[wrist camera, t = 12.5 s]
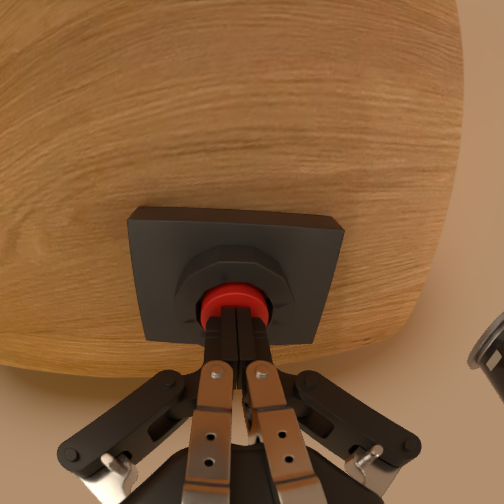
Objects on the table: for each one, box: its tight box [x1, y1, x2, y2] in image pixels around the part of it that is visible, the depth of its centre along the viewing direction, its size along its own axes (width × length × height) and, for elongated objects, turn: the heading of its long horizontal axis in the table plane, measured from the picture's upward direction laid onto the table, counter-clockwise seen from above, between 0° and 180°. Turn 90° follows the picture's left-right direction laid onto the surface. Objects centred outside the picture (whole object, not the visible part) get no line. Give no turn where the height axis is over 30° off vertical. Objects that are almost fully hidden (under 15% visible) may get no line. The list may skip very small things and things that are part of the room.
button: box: [201, 282, 269, 331], centre depth 15 cm, size 4×4×2 cm
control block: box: [127, 207, 345, 347], centre depth 16 cm, size 12×9×4 cm
